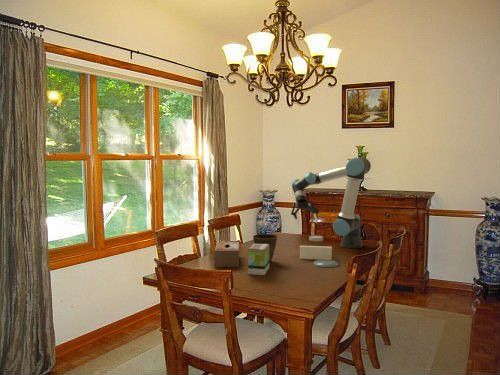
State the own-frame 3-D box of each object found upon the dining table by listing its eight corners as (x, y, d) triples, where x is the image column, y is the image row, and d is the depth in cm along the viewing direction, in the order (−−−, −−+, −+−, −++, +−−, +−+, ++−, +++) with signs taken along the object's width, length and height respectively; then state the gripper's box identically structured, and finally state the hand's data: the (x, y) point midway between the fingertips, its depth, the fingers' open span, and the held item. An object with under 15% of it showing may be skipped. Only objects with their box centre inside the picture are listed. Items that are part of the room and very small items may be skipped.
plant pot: (264, 257, 277) (264, 233, 276) (282, 261, 267) (282, 236, 265) (248, 261, 267) (248, 236, 265) (265, 265, 256) (265, 239, 255)
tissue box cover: (238, 267, 255) (238, 250, 254) (214, 267, 255) (214, 250, 254) (239, 256, 281) (239, 241, 280) (217, 256, 280) (217, 241, 280)
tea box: (265, 275, 236) (265, 249, 235) (247, 274, 238) (247, 248, 237) (269, 268, 251) (269, 243, 250) (252, 267, 253) (252, 242, 252)
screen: (299, 258, 272) (299, 246, 272) (299, 258, 274) (300, 245, 274) (331, 259, 269) (331, 247, 268) (331, 259, 271) (331, 246, 270)
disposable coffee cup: (307, 253, 288) (307, 235, 287) (321, 252, 289) (321, 235, 288) (310, 256, 278) (310, 238, 278) (324, 256, 279) (325, 237, 278)
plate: (326, 259, 269) (326, 258, 269) (344, 265, 257) (344, 263, 257) (308, 263, 261) (308, 262, 261) (325, 268, 248) (325, 267, 248)
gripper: (315, 200, 315) (322, 224, 302) (283, 201, 309) (289, 225, 296) (318, 194, 309) (326, 218, 296) (285, 195, 304) (291, 219, 290)
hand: (307, 222), depth 296 cm, fingers open, 13 cm apart
